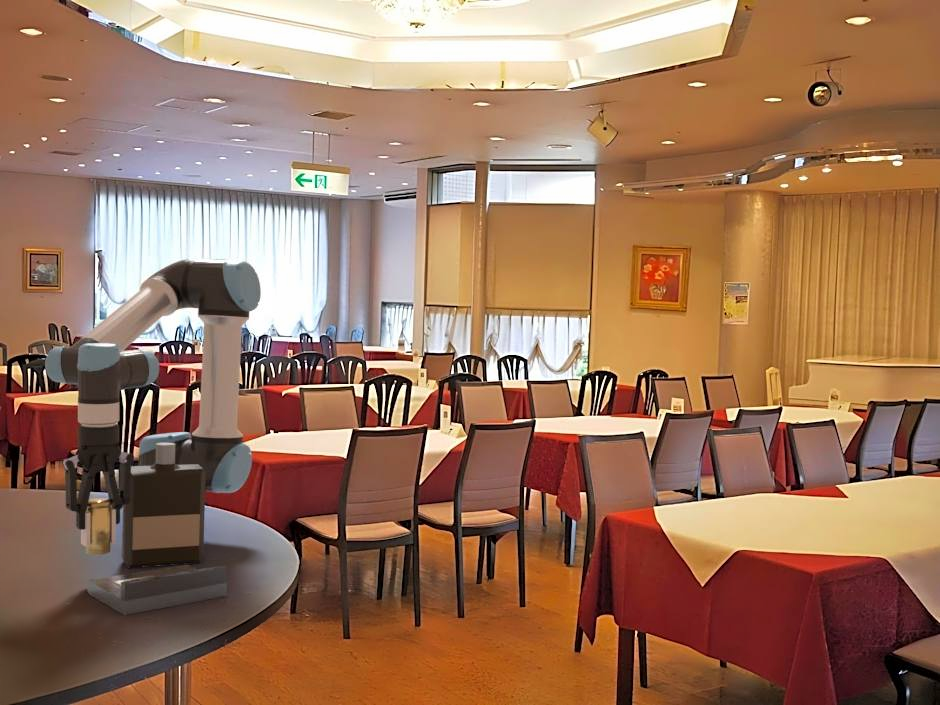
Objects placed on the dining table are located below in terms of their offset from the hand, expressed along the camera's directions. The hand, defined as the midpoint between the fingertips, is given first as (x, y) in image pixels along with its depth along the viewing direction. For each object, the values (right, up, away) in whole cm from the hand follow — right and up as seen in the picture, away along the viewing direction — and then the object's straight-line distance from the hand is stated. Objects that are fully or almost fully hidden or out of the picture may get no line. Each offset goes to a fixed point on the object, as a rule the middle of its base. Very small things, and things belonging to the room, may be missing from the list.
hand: (98, 542), depth 197 cm
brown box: (+7, -7, +17) cm, 20 cm away
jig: (+13, -9, -6) cm, 17 cm away
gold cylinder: (0, -2, 0) cm, 2 cm away
